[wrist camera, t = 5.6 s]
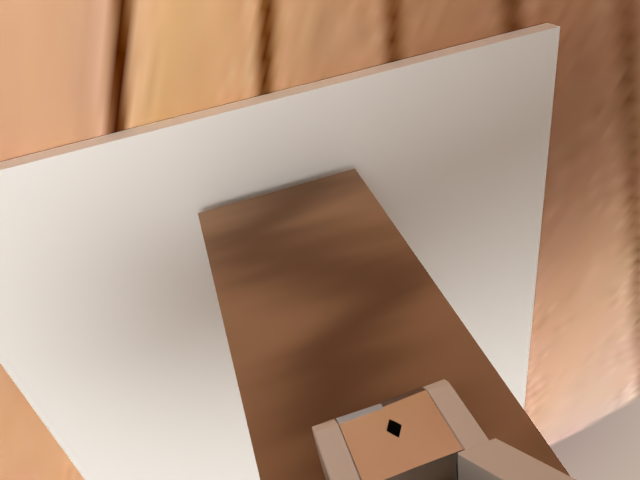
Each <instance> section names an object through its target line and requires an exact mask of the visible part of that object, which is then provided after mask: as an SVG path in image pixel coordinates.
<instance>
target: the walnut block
mask: <svg viewBox="0 0 640 480" xmlns="http://www.w3.org/2000/svg"><path fill="white" fill-rule="evenodd" d="M198 216H199V221H200V225H201V229H202V234H203V238H204V242H205V246H206V251H207V255H208V259H209V263H210V268H211V272H212V276H213V280H214V285H215V289H216V293H217V298H218V302H219V306H220V310H221V315H222V319H223V323H224V327H225V332H226V336H227V340H228V344H229V349H230V353H231V357H232V362H233V366H234V370H235V374H236V379H237V383H238V387H239V391H240V396H241V400H242V404H243V408H244V413H245V417H246V421H247V426H248V430H249V434H250V438H251V443H252V447H253V451H254V455H255V460H256V464H257V468H258V472H259V477H260V480H326V479H325V476H324V472H323V469H322V465H321V462H320V459H319V455H318V451H317V447H316V443H315V439H314V435H313V431H312V426H315V425H318V424H321V423H324V422H326V421H329V420H332V419H336V418H338V417H341V416H344V415H347V414H350V413H353V412H356V411H359V410H362V409H365V408H368V407H371V406H374V405H377V404H379V403H380V402H382V401H385V400H388V399H390V398H393V397H396V396H398V395H401V394H404V393H406V392H409V391H411V390H414V389H417V388H419V387H424V386H427V385H430V384H432V383H435V382H437V381H440V380H443V379H445V380H446V381H448V382H449V383H450V384H451V386H452V387H453V389H454V390H455V391H456V393H457V394H458V396H459V397H460V399H461V400H462V402H463V403H464V405H465V406H466V407H467V409H468V410H469V412H470V413H471V415H472V416H473V418H474V419H475V421H476V422H477V424H478V425H479V426H480V428H481V429H482V431H483V432H484V434H485V435H486V437H487V438H488V440H492V439H495V438H496V439H498V440H500V441H502V442H504V443H506V444H508V445H510V446H512V447H514V448H516V449H518V450H519V451H521V452H523V453H525V454H527V455H529V456H531V457H533V458H535V459H537V460H539V461H541V462H543V463H545V464H547V465H549V466H550V467H552V468H554V469H556V470H558V471H560V472H562V473H564V474H566V475H568V476H570V475H569V474H568V472H567V471H566V469H565V468H564V467H563V465H562V464H561V462H560V461H559V459H558V458H557V457H556V455H555V454H554V452H553V451H552V449H551V448H550V447H549V445H548V444H547V442H546V441H545V439H544V438H543V437H542V435H541V434H540V432H539V431H538V429H537V428H536V427H535V425H534V424H533V422H532V421H531V419H530V418H529V417H528V415H527V414H526V412H525V411H524V409H523V408H522V407H521V405H520V404H519V402H518V401H517V399H516V398H515V397H514V395H513V394H512V392H511V391H510V389H509V388H508V387H507V385H506V384H505V382H504V381H503V379H502V378H501V377H500V375H499V374H498V372H497V371H496V369H495V368H494V367H493V365H492V364H491V362H490V361H489V359H488V358H487V357H486V355H485V354H484V352H483V351H482V349H481V348H480V346H479V345H478V344H477V342H476V341H475V339H474V338H473V336H472V335H471V334H470V332H469V331H468V329H467V328H466V326H465V325H464V324H463V322H462V321H461V319H460V318H459V316H458V315H457V314H456V312H455V311H454V309H453V308H452V306H451V305H450V304H449V302H448V301H447V299H446V298H445V296H444V295H443V294H442V292H441V291H440V289H439V288H438V286H437V285H436V284H435V282H434V281H433V279H432V278H431V276H430V275H429V274H428V272H427V271H426V269H425V268H424V266H423V265H422V264H421V262H420V261H419V259H418V258H417V256H416V255H415V254H414V252H413V251H412V249H411V248H410V246H409V245H408V244H407V242H406V241H405V239H404V238H403V236H402V235H401V234H400V232H399V231H398V229H397V228H396V226H395V225H394V224H393V222H392V221H391V219H390V218H389V216H388V215H387V214H386V212H385V211H384V209H383V208H382V206H381V205H380V204H379V202H378V201H377V199H376V198H375V196H374V195H373V194H372V192H371V191H370V189H369V188H368V186H367V185H366V184H365V182H364V181H363V179H362V178H361V176H360V175H359V174H358V172H357V171H356V169H351V170H348V171H344V172H341V173H337V174H334V175H330V176H327V177H323V178H320V179H316V180H313V181H309V182H306V183H302V184H299V185H295V186H292V187H288V188H285V189H281V190H278V191H274V192H270V193H267V194H263V195H260V196H256V197H253V198H249V199H246V200H242V201H239V202H235V203H232V204H228V205H225V206H221V207H218V208H214V209H211V210H207V211H204V212H200V213H198Z"/></svg>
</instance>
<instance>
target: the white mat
mask: <svg viewBox="0 0 640 480" xmlns="http://www.w3.org/2000/svg"><path fill="white" fill-rule="evenodd" d="M559 35H560V26H557V25H554V24H550V23H544V24H540V25H536V26H532V27H528V28H524V29H520V30H516V31H512V32H508V33H505V34H501V35H497V36H493V37H489V38H485V39H481V40H477V41H473V42H469V43H465V44H461V45H457V46H453V47H450V48H446V49H442V50H438V51H434V52H430V53H426V54H422V55H418V56H414V57H410V58H406V59H402V60H398V61H395V62H391V63H387V64H383V65H379V66H375V67H371V68H367V69H363V70H359V71H355V72H351V73H347V74H343V75H340V76H336V77H332V78H328V79H324V80H320V81H316V82H312V83H308V84H304V85H300V86H296V87H292V88H288V89H284V90H281V91H277V92H273V93H269V94H265V95H261V96H257V97H253V98H249V99H245V100H241V101H237V102H233V103H229V104H226V105H222V106H218V107H214V108H210V109H206V110H202V111H198V112H194V113H190V114H186V115H182V116H178V117H174V118H171V119H167V120H163V121H159V122H155V123H151V124H147V125H143V126H139V127H135V128H131V129H127V130H123V131H119V132H116V133H112V134H108V135H104V136H100V137H96V138H92V139H88V140H84V141H80V142H76V143H72V144H68V145H64V146H61V147H57V148H53V149H49V150H45V151H41V152H37V153H33V154H29V155H25V156H21V157H17V158H13V159H9V160H5V161H2V162H0V363H1V365H2V366H3V367H4V369H5V370H6V372H7V373H8V374H9V376H10V377H11V379H12V380H13V381H14V383H15V384H16V385H17V387H18V388H19V390H20V391H21V392H22V394H23V395H24V396H25V398H26V399H27V401H28V402H29V403H30V405H31V406H32V408H33V409H34V410H35V412H36V413H37V414H38V416H39V417H40V419H41V420H42V421H43V423H44V424H45V425H46V427H47V428H48V430H49V431H50V432H51V434H52V435H53V436H54V438H55V439H56V441H57V442H58V443H59V445H60V446H61V448H62V449H63V450H64V452H65V453H66V454H67V456H68V457H69V459H70V460H71V461H72V463H73V464H74V465H75V467H76V468H77V470H78V471H79V472H80V474H81V475H82V477H83V478H84V479H85V480H260V477H259V472H258V468H257V464H256V460H255V455H254V451H253V447H252V443H251V438H250V434H249V430H248V426H247V421H246V417H245V413H244V408H243V404H242V400H241V396H240V391H239V387H238V383H237V379H236V374H235V370H234V366H233V362H232V357H231V353H230V349H229V344H228V340H227V336H226V332H225V327H224V323H223V319H222V315H221V310H220V306H219V302H218V298H217V293H216V289H215V285H214V280H213V276H212V272H211V268H210V263H209V259H208V255H207V251H206V246H205V242H204V238H203V234H202V229H201V225H200V221H199V216H198V213H200V212H204V211H207V210H211V209H214V208H218V207H221V206H225V205H228V204H232V203H235V202H239V201H242V200H246V199H249V198H253V197H256V196H260V195H263V194H267V193H270V192H274V191H278V190H281V189H285V188H288V187H292V186H295V185H299V184H302V183H306V182H309V181H313V180H316V179H320V178H323V177H327V176H330V175H334V174H337V173H341V172H344V171H348V170H351V169H356V171H357V172H358V174H359V175H360V176H361V178H362V179H363V181H364V182H365V184H366V185H367V186H368V188H369V189H370V191H371V192H372V194H373V195H374V196H375V198H376V199H377V201H378V202H379V204H380V205H381V206H382V208H383V209H384V211H385V212H386V214H387V215H388V216H389V218H390V219H391V221H392V222H393V224H394V225H395V226H396V228H397V229H398V231H399V232H400V234H401V235H402V236H403V238H404V239H405V241H406V242H407V244H408V245H409V246H410V248H411V249H412V251H413V252H414V254H415V255H416V256H417V258H418V259H419V261H420V262H421V264H422V265H423V266H424V268H425V269H426V271H427V272H428V274H429V275H430V276H431V278H432V279H433V281H434V282H435V284H436V285H437V286H438V288H439V289H440V291H441V292H442V294H443V295H444V296H445V298H446V299H447V301H448V302H449V304H450V305H451V306H452V308H453V309H454V311H455V312H456V314H457V315H458V316H459V318H460V319H461V321H462V322H463V324H464V325H465V326H466V328H467V329H468V331H469V332H470V334H471V335H472V336H473V338H474V339H475V341H476V342H477V344H478V345H479V346H480V348H481V349H482V351H483V352H484V354H485V355H486V357H487V358H488V359H489V361H490V362H491V364H492V365H493V367H494V368H495V369H496V371H497V372H498V374H499V375H500V377H501V378H502V379H503V381H504V382H505V384H506V385H507V387H508V388H509V389H510V391H511V392H512V394H513V395H514V397H515V398H516V399H517V401H518V402H519V404H520V405H521V407H522V408H523V409H524V402H525V392H526V381H527V371H528V360H529V350H530V339H531V329H532V318H533V308H534V297H535V287H536V276H537V266H538V255H539V245H540V234H541V224H542V213H543V203H544V192H545V182H546V171H547V161H548V150H549V140H550V129H551V119H552V108H553V98H554V87H555V77H556V66H557V56H558V45H559Z"/></svg>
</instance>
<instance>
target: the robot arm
mask: <svg viewBox="0 0 640 480" xmlns="http://www.w3.org/2000/svg"><path fill="white" fill-rule="evenodd" d="M312 431H313V435H314V439H315V443H316V447H317V451H318V455H319V459H320V462H321V465H322V469H323V472H324V476H325V479H326V480H575V479H574V478H572V477H570V476H568V475H566V474H564V473H562V472H560V471H558V470H556V469H554V468H552V467H550V466H549V465H547V464H545V463H543V462H541V461H539V460H537V459H535V458H533V457H531V456H529V455H527V454H525V453H523V452H521V451H519V450H518V449H516V448H514V447H512V446H510V445H508V444H506V443H504V442H502V441H500V440H498V439H496V438H495V439H492V440H488V438H487V437H486V435H485V434H484V432H483V431H482V429H481V428H480V426H479V425H478V424H477V422H476V421H475V419H474V418H473V416H472V415H471V413H470V412H469V410H468V409H467V407H466V406H465V405H464V403H463V402H462V400H461V399H460V397H459V396H458V394H457V393H456V391H455V390H454V389H453V387H452V386H451V384H450V383H449V382H448V381H446V380H445V379H443V380H440V381H437V382H435V383H432V384H430V385H427V386H424V387H419V388H417V389H414V390H411V391H409V392H406V393H404V394H401V395H398V396H396V397H393V398H390V399H388V400H385V401H382V402H380V403H379V404H377V405H374V406H371V407H368V408H365V409H362V410H359V411H356V412H353V413H350V414H347V415H344V416H341V417H338V418H336V419H332V420H329V421H326V422H324V423H321V424H318V425H315V426H312Z"/></svg>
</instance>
